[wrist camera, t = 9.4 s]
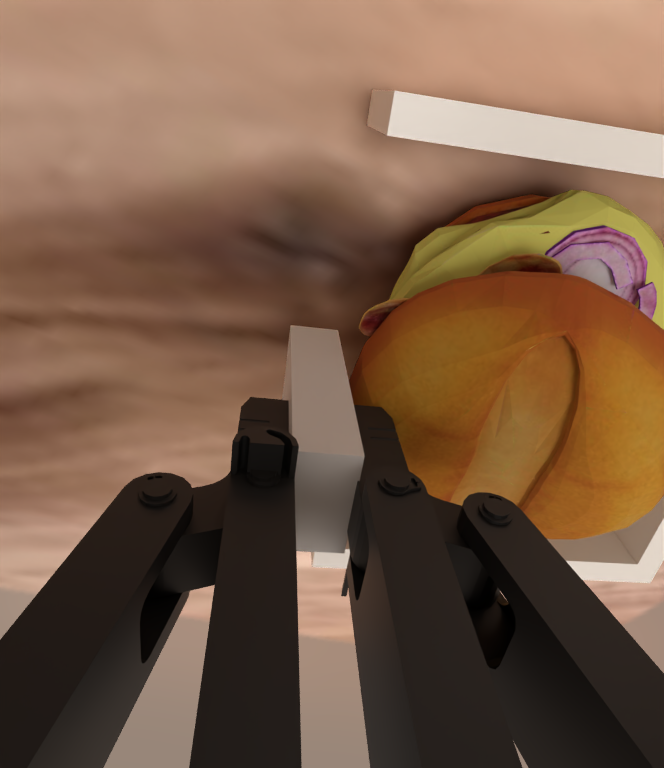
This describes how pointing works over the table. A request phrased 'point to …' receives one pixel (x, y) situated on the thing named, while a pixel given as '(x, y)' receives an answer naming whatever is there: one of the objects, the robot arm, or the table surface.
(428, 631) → the robot arm
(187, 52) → the table surface
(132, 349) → the table surface
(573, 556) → the box
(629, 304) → the cheeseburger
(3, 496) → the table surface
